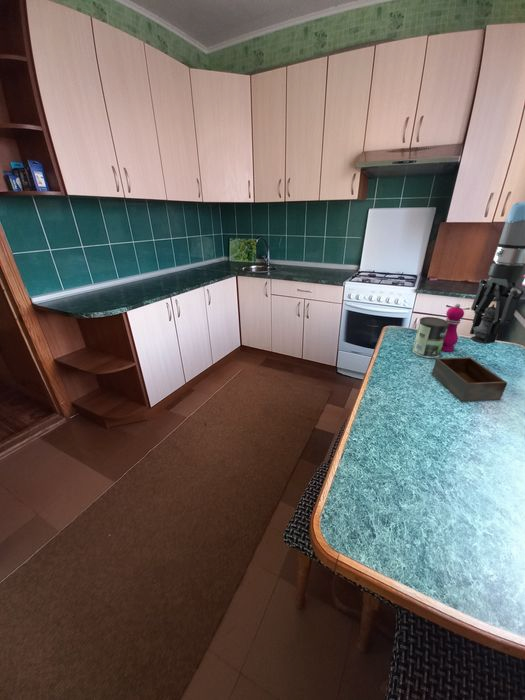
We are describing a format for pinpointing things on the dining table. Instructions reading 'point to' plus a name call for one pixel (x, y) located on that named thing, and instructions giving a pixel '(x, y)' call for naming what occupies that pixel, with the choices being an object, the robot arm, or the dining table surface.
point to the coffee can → (430, 337)
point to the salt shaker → (484, 325)
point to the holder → (468, 379)
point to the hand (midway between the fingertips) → (481, 337)
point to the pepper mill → (452, 327)
